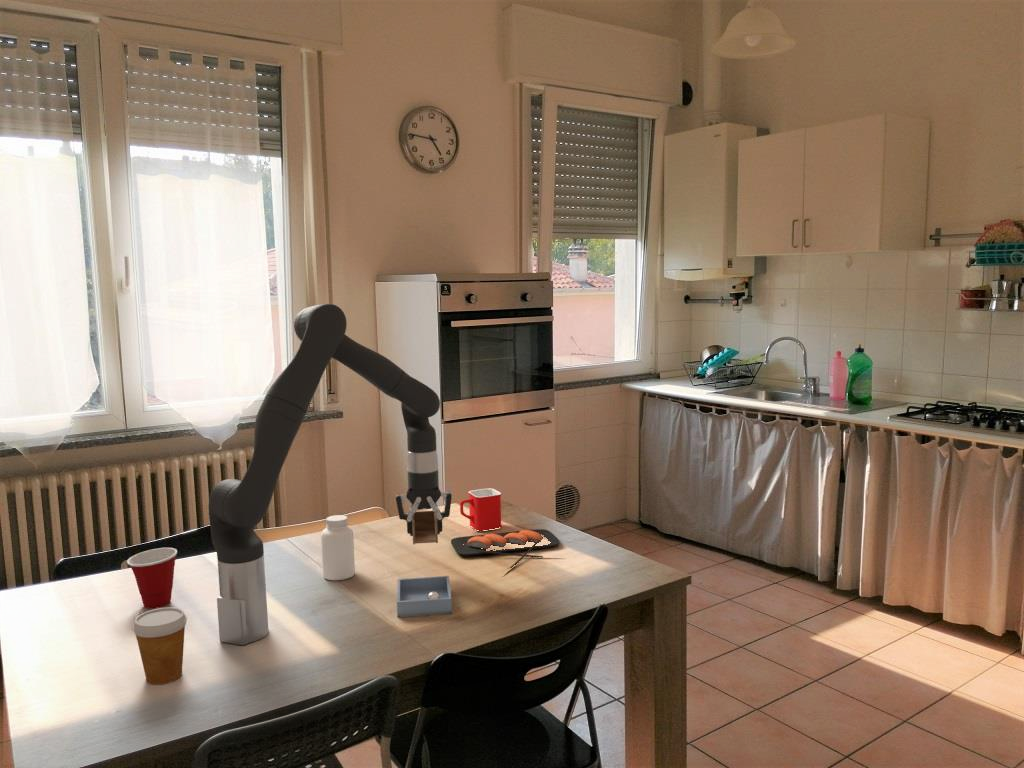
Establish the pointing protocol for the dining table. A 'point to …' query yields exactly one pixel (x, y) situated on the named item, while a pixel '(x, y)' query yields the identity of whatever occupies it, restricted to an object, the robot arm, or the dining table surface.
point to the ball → (433, 595)
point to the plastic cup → (154, 575)
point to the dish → (423, 596)
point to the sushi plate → (502, 542)
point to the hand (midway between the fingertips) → (425, 534)
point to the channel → (424, 527)
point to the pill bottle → (337, 549)
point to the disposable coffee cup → (161, 643)
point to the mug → (483, 509)
